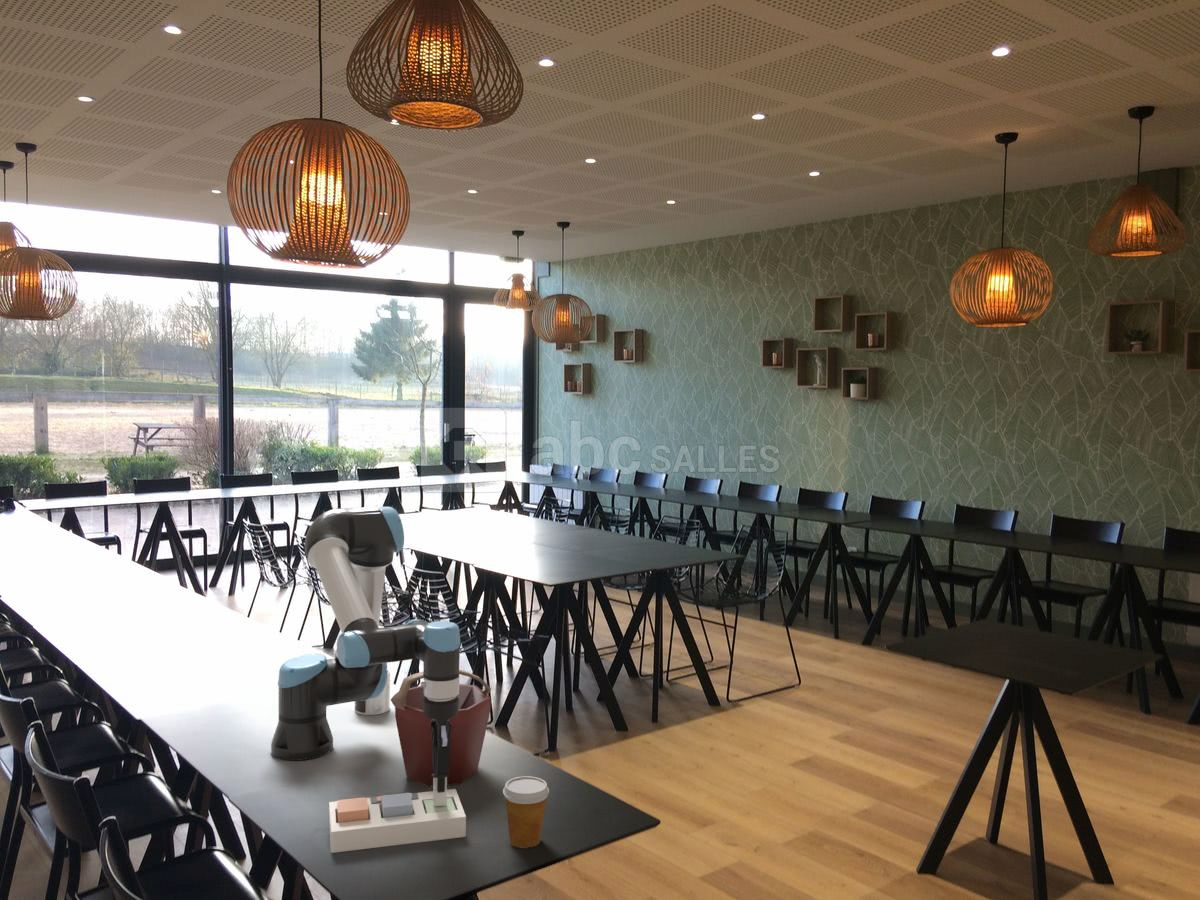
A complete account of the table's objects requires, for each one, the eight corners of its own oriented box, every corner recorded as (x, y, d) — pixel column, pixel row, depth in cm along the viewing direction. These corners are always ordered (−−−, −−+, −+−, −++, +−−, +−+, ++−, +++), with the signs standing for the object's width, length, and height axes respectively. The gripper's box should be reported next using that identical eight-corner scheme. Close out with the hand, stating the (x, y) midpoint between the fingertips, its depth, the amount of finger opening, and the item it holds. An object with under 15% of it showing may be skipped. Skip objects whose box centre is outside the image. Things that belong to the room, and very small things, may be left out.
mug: (396, 705, 275) (396, 667, 275) (383, 719, 263) (383, 680, 263) (361, 702, 276) (361, 666, 276) (346, 717, 264) (346, 678, 264)
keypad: (329, 821, 201) (329, 800, 201) (455, 807, 209) (455, 786, 209) (330, 852, 188) (331, 829, 188) (465, 836, 196) (466, 814, 196)
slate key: (380, 807, 200) (381, 795, 200) (409, 803, 202) (409, 792, 202) (383, 819, 195) (383, 807, 194) (412, 816, 196) (412, 804, 196)
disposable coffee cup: (548, 830, 200) (549, 775, 199) (547, 852, 190) (548, 794, 189) (503, 830, 199) (504, 775, 198) (500, 852, 190) (501, 794, 189)
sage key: (423, 812, 203) (423, 800, 203) (451, 809, 205) (451, 797, 205) (427, 824, 197) (427, 812, 197) (455, 821, 199) (455, 809, 199)
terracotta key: (337, 811, 198) (337, 800, 197) (366, 808, 199) (366, 797, 199) (338, 824, 192) (338, 812, 192) (368, 821, 194) (368, 809, 193)
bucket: (391, 794, 215) (392, 687, 214) (386, 757, 236) (387, 659, 235) (497, 785, 222) (499, 681, 220) (483, 750, 243) (485, 654, 241)
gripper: (419, 687, 204) (418, 793, 206) (427, 707, 192) (425, 820, 193) (454, 685, 207) (452, 790, 208) (463, 704, 194) (462, 815, 196)
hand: (439, 804), depth 201 cm, fingers closed
